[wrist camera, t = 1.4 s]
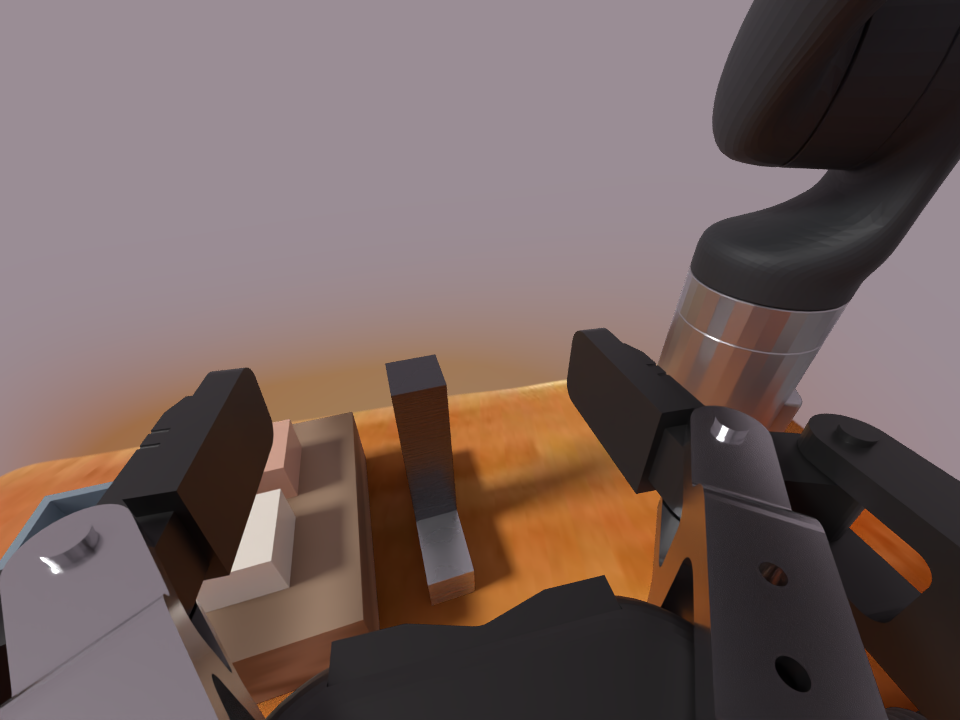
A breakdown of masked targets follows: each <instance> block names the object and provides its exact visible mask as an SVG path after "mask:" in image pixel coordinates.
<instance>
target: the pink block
mask: <svg viewBox="0 0 960 720" xmlns="http://www.w3.org/2000/svg"><path fill="white" fill-rule="evenodd" d="M272 424H273V431H274V438H273V445H272V448H271V451H270V454H269V457H268V460H267V463H266V466H265V469H264V472H263V475H262V478H261V482H260V485H259V488H258V491H257V494H261V493H265V492H269V491H273V490H277V489H281V490H282V492H283V494H284V496H285V498H286V499H287V498H291V497H295V496H298V486H299V474H300V463H301V452H302V446H301V444H300V442H299V439H298V437H297V435H296V432H295V430H294V428H293V425H292V423H291V421H290V419H289V420H283V421H278V422H274V423H272Z"/></svg>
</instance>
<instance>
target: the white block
mask: <svg viewBox="0 0 960 720" xmlns="http://www.w3.org/2000/svg"><path fill="white" fill-rule="evenodd" d="M295 519H296V517H295V515H294V513H293V511H292V509H291V507H290V505H289V504H288V502H287V500H286V498H285V496H284V494H283V492H282V490H281V489H277V490H273V491H269V492H265V493H261V494H256V497H255V500H254V503H253V506H252V509H251V512H250V515H249V518H248V521H247V524H246V527H245V530H244V533H243V536H242V539H241V542H240V545H239V548H238V551H237V554H236V557H235V560H234V563H233V567H232V570H231V573H230V575H229V576H224V577H219V578H214V579H209V580H204V581H203V583H202V585H201V588H200V591H199V593H198V596H197V600H198V602H199V603H200V604H201V606H202V608H203V610H204V611H205V613H206V612H209V611H213V610H216V609H219V608H223V607H226V606H229V605H233V604H236V603H240V602H243V601H246V600H250V599H253V598H256V597H260V596H263V595H266V594H270V593H273V592H276V591H280V590H283V589H287V588H289V586H290V575H291V564H292V553H293V541H294V530H295Z"/></svg>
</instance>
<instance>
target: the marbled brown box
mask: <svg viewBox="0 0 960 720" xmlns="http://www.w3.org/2000/svg"><path fill="white" fill-rule="evenodd" d="M292 425H293V428H294V430H295V432H296V435H297V437H298V439H299V442H300V444H301V446H302V452H301V463H300V474H299V486H298V496H295V497H291V498H287V499H286V500H287V502H288V504H289V505H290V507H291V509H292V511H293V513H294V515H295V517H296V519H295V530H294V541H293V553H292V564H291V575H290V586H289V588H287V589H283V590H280V591H276V592H273V593H270V594H266V595H263V596H260V597H256V598H253V599H250V600H246V601H243V602H240V603H236V604H233V605H229V606H226V607H223V608H219V609H216V610H213V611H209V612H206V615H207V617H208V619H209V621H210V623H211V625H212V626H213V628H214V630H215V632H216V634H217V636H218V638H219V640H220V642H221V643H222V645H223V647H224V649H225V651H226V653H227V655H228V657H229V658H230V660H231V662H232V664H233V666H234V668H235V670H236V672H237V673H238V675H239V677H240V679H241V681H242V683H243V684H244V686H245V688H246V689H247V691H248V692H249V694H250V696H251V697H252V698H253V700H254V701H255V703H256V704H258V703H261V702H264V701H266V700H269V699H272V698H275V697H278V696H280V695H283V694H286V693H289V692H292V691H294V690H296V689H297V688H299V687H300V686H301V685H303V684H304V683H305V682H307V681H308V680H310V679H311V678H313V677H314V676H315V675H317V674H318V673H320V672H322V671H323V670H325V669H327V668H329V665H330V654H331V643H332V641H336V640H340V639H345V638H349V637H353V636H357V635H361V634H365V633H369V632H373V631H377V630H380V626H379V614H378V602H377V590H376V577H375V565H374V553H373V541H372V529H371V516H370V504H369V492H368V480H367V468H366V458H365V454H364V451H363V447H362V444H361V440H360V437H359V434H358V430H357V427H356V423H355V420H354V416H353V413H352V412H350V413H345V414H340V415H335V416H330V417H325V418H321V419H316V420H311V421H306V422H301V423H296V424H292Z"/></svg>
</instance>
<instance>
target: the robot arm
mask: <svg viewBox="0 0 960 720" xmlns="http://www.w3.org/2000/svg"><path fill="white" fill-rule="evenodd" d="M712 120H713V121H712V123H713V134H714V138H715V142H716V144H717V146H718V147H719V149H720V151H721V152H722V153H723V154H725V155H726V156H727V157H729V158H730V159H732V160H735V161H739V162H742V163H747V164H752V165H758V166H767V167H784V168H807V169H808V168H809V169H828V171H827V172H826V174H825V175H824V176H823V177H822V179H821V180H820V181H819V182H818V183H817V184H815V185H814V186H813V187H812V188H811V189H809V190H807V191H806V192H804V193H802V194H800V195H798V196H796V197H794V198H792V199H790V200H788V201H786V202H783V203H781V204H778V205H776V206H773V207H770V208H766V209H763V210H760V211H756V212H752V213H748V214H744V215H740V216H736V217H731V218H727V219H724V220H722V221H719V222H717V223H715V224H713V225H711V226H710V227H709V228H708V229H706V230H705V231H704V233H703V235H702V236H701V238H700V240H699V242H698V244H697V247H696V250H695V253H694V256H693V259H692V262H691V266H690V268H689V271H688V274H687V277H686V280H685V283H684V286H683V289H682V292H681V295H680V298H679V301H678V304H677V307H676V310H675V313H674V316H673V319H672V322H671V325H670V329H669V331H668V334H667V337H666V340H665V343H664V346H663V349H662V352H661V355H660V359H659V361H658V364H657V366H656V363H655V362H654V361H653V360H651V359H650V358H649V357H648V356H647V355H646V354H645V353H643V352H642V351H640V350H638V349H635V348H633V347H631V346H629V345H627V344H625V343H624V344H623V343H622V342H621V341H619V339H618V338H616V337H615V336H614V335H613V334H612V333H611V332H610V331H609V330H607V329H606V328H598V329H589V330H581V331H577V332H576V333H575V334H574V336H573V341H572V348H571V355H570V362H569V369H568V377H567V388H568V393H569V396H570V399H571V401H572V402H573V404H574V405H575V407H576V408H577V410H578V411H579V412H580V414H581V415H582V417H583V418H584V420H585V421H586V422H587V424H588V425H589V427H590V428H591V430H592V431H593V433H594V434H595V435H596V437H597V438H598V440H599V441H600V443H601V444H602V445H603V447H604V448H605V450H606V451H607V453H608V454H609V456H610V457H611V458H612V460H613V461H614V463H615V464H616V466H617V467H618V468H619V470H620V471H621V473H622V474H623V476H624V477H625V479H626V480H627V481H628V483H629V484H630V486H631V487H632V489H633V490H634V491H635V493H636V494H638V493H643V492H648V491H653V490H656V491H657V492H658V493H659V494H660V496H661V498H660V500H659V503H658V507H657V520H656V534H655V548H654V561H653V575H652V582H651V588H650V592H649V596H648V600H647V602H644V601H641V600H638V599H634V598H628V597H623V596H615V595H614V593H613V591H612V589H611V587H610V585H609V583H608V581H607V579H606V577H605V575H603V576H598V577H594V578H590V579H586V580H582V581H578V582H574V583H570V584H566V585H562V586H557V587H553V588H549V589H545V590H543V591H541V592H539V593H538V594H536V595H534V596H533V597H531V598H529V599H528V600H526V601H524V602H522V603H521V604H519V605H517V606H516V607H514V608H512V609H511V610H509V611H507V612H506V613H504V614H502V615H500V616H499V617H497V618H495V619H494V620H492V621H490V622H489V623H487V624H484V625H481V626H451V625H427V624H402V625H398V626H394V627H390V628H386V629H381V630H377V631H373V632H369V633H365V634H361V635H357V636H353V637H349V638H345V639H340V640H336V641H332V643H331V654H330V665H329V668H327V669H325V670H323V671H322V672H320V673H318V674H317V675H315V676H314V677H313V678H311V679H310V680H308V681H307V682H305V683H304V684H303V685H301V686H300V687H299V688H297V689H296V690H295V691H294V692H293V693H292V694H291V695H289V696H288V697H287V698H286V699H285V700H284V701H282V702H281V703H280V704H279V705H278V706H277V707H276V708H275V709H274V710H273V711H272V712H271V713H270V715H269V716H268V717H267V718H266V719H265V717H264V716H263V714H262V713H261V711H260V709H259V708H258V706H257V705H256V703H255V701H254V700H253V698H252V697H251V696H250V694H249V692H248V691H247V689H246V688H245V686H244V684H243V683H242V681H241V679H240V677H239V675H238V673H237V672H236V670H235V668H234V666H233V664H232V662H231V660H230V658H229V657H228V655H227V653H226V651H225V649H224V647H223V645H222V643H221V642H220V640H219V638H218V636H217V634H216V632H215V630H214V628H213V626H212V625H211V623H210V621H209V619H208V617H207V615H206V613H205V611H204V610H203V608H202V606H201V604H200V603H199V602H198V600H197V596H198V593H199V591H200V588H201V585H202V583H203V581H204V580H209V579H214V578H219V577H224V576H229V575H230V573H231V570H232V567H233V563H234V560H235V557H236V554H237V551H238V548H239V545H240V542H241V539H242V536H243V533H244V530H245V527H246V524H247V521H248V518H249V515H250V512H251V509H252V506H253V503H254V500H255V497H256V494H257V491H258V488H259V485H260V482H261V478H262V475H263V472H264V469H265V466H266V463H267V460H268V457H269V454H270V451H271V448H272V445H273V438H274V431H273V424H272V420H271V417H270V414H269V412H268V409H267V406H266V404H265V401H264V398H263V396H262V393H261V390H260V388H259V386H258V383H257V380H256V377H255V375H254V373H253V372H252V371H251V369H249V368H239V369H231V370H221V371H212V372H210V373H208V374H207V376H206V377H205V379H204V380H203V381H202V383H201V385H200V386H199V387H198V389H197V390H196V392H195V393H194V395H193V396H187V397H185V398H183V399H182V400H181V401H180V402H178V403H177V404H176V405H174V406H173V407H171V408H170V409H169V410H167V411H166V412H165V413H164V414H163V415H162V417H161V418H160V419H159V421H158V422H157V424H156V425H155V426H154V427H153V429H152V430H151V432H152V433H151V434H148V435H147V437H146V438H145V439H144V441H143V442H142V444H141V445H140V449H138V450H136V452H135V453H134V454H133V456H132V457H131V458H130V460H129V461H128V462H127V464H126V465H125V466H124V468H123V469H122V471H121V472H120V473H119V475H118V476H117V477H116V479H115V480H114V481H113V483H112V484H111V485H110V487H109V488H108V489H107V491H106V492H105V493H104V495H103V496H102V498H101V499H100V500H99V502H98V503H97V504H96V506H93V507H89V508H86V509H82V510H80V511H77V512H74V513H72V514H70V515H68V516H65V517H63V518H61V519H59V520H58V521H56V522H54V523H52V524H50V525H49V526H47V527H46V528H44V529H42V530H41V531H40V532H38V533H37V534H35V535H34V536H33V537H31V538H30V539H29V540H28V541H27V542H25V543H24V544H23V545H22V546H21V547H20V548H19V549H18V550H17V551H16V552H15V553H14V554H13V555H12V556H11V558H10V559H9V560H8V561H7V563H6V565H5V566H4V568H3V569H2V570H0V720H888V717H887V714H886V711H885V708H884V705H883V702H882V699H881V696H880V693H879V690H878V687H877V684H876V681H875V678H874V675H873V673H872V670H871V667H870V664H869V661H868V658H867V655H866V652H865V649H866V650H867V651H868V652H869V653H870V654H871V656H872V657H873V658H874V659H875V660H876V661H877V662H878V664H879V665H880V666H881V667H882V668H883V669H884V670H885V672H886V673H887V674H888V675H889V676H890V677H891V679H892V680H893V681H894V682H895V683H896V684H897V685H898V687H899V688H900V689H901V690H902V691H903V692H904V693H905V695H906V696H907V697H908V698H909V699H910V700H911V701H912V703H913V704H914V705H915V706H916V707H917V708H918V709H919V711H920V712H921V713H922V714H923V715H924V716H925V717H926V719H927V720H960V481H958V480H957V479H955V478H954V477H952V476H950V475H949V474H947V473H946V472H945V471H943V470H941V469H940V468H938V467H937V466H935V465H934V464H932V463H931V462H929V461H927V460H926V459H924V458H923V457H921V456H920V455H918V454H917V453H915V452H914V451H912V450H911V449H909V448H907V447H906V446H904V445H903V444H901V443H899V442H898V441H897V440H895V439H894V438H892V437H890V436H889V435H887V434H886V433H884V432H883V431H881V430H879V429H877V428H875V427H873V426H871V425H869V424H867V423H865V422H862V421H859V420H856V419H853V418H850V417H846V416H842V415H836V414H818V415H815V416H813V417H812V418H810V420H809V422H808V423H807V425H806V427H805V428H804V430H803V432H802V433H801V434H798V433H785V432H784V431H785V429H786V428H787V426H788V425H789V423H790V422H791V420H792V419H793V417H794V416H795V414H796V413H797V411H798V410H799V408H800V407H801V405H802V399H801V397H800V395H799V394H798V392H797V391H796V389H795V388H796V386H797V385H798V383H799V382H800V380H801V378H802V376H803V375H804V374H805V372H806V370H807V369H808V367H809V365H810V364H811V362H812V361H813V359H814V357H815V356H816V354H817V353H818V351H819V350H820V348H821V346H822V345H823V343H824V341H825V339H826V338H827V336H828V335H829V333H830V332H831V330H832V328H833V327H834V325H835V324H836V322H837V320H838V319H839V317H840V316H841V314H842V312H843V311H844V309H845V308H846V306H847V305H848V303H849V301H850V300H851V299H852V297H853V296H854V294H855V292H856V291H857V289H858V288H859V286H860V285H861V283H862V282H863V281H864V280H865V279H866V278H867V277H868V276H869V275H870V274H871V273H872V272H874V271H875V270H876V269H877V268H878V267H879V266H880V265H881V264H883V263H884V261H886V259H887V258H888V257H889V256H890V255H891V254H892V253H893V251H894V250H895V249H896V247H897V246H898V245H899V243H900V242H901V241H902V239H903V238H904V236H905V235H906V234H907V232H908V231H909V229H910V228H911V226H912V225H913V224H914V222H915V221H916V219H917V218H918V216H919V215H920V213H921V212H922V210H923V209H924V208H925V206H926V205H927V204H928V202H929V201H930V199H931V198H932V197H933V195H934V194H935V192H936V191H937V190H938V188H939V187H940V186H941V184H942V183H943V181H944V180H945V179H946V177H947V176H948V175H949V173H950V172H951V171H952V169H953V168H954V166H955V165H956V164H957V162H958V161H959V160H960V0H754V1H753V3H752V5H751V8H750V9H749V11H748V14H747V15H746V17H745V19H744V21H743V23H742V26H741V28H740V30H739V32H738V35H737V37H736V39H735V41H734V44H733V46H732V48H731V51H730V53H729V55H728V58H727V61H726V64H725V66H724V69H723V72H722V75H721V78H720V81H719V84H718V88H717V92H716V96H715V102H714V108H713V117H712ZM865 508H866V509H867V510H868V511H869V512H870V513H872V514H873V515H874V516H875V517H876V518H878V519H879V520H880V521H881V522H882V523H883V524H885V525H886V526H887V527H888V528H889V529H891V530H892V531H893V532H894V533H895V534H897V535H898V536H899V537H900V538H901V539H903V540H904V541H905V542H906V543H907V544H909V545H910V546H911V547H912V548H913V549H914V550H916V551H917V552H918V553H919V554H920V555H921V556H922V557H923V559H924V560H925V561H926V563H927V564H928V566H929V568H930V570H931V573H932V583H931V585H930V587H929V588H928V589H927V590H925V591H924V592H923V593H922V594H921V593H920V592H919V591H918V590H917V589H916V588H915V587H913V586H912V585H911V584H910V583H909V582H908V581H907V580H906V579H905V578H904V577H903V576H901V575H900V574H899V573H898V572H897V571H896V570H895V569H894V568H893V567H892V566H890V565H889V564H888V563H887V562H886V561H885V560H884V559H883V558H882V557H881V556H880V555H878V554H877V553H876V552H875V551H874V550H873V549H872V548H871V547H870V546H869V545H868V544H866V543H865V542H864V541H863V540H862V539H861V538H860V537H859V536H858V535H857V534H855V533H854V532H853V531H852V530H851V529H850V528H849V527H850V526H851V525H852V523H853V522H854V521H855V520H856V518H857V517H858V516H859V515H860V514H861V512H862V511H863V510H864V509H865ZM864 648H865V649H864Z"/></svg>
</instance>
